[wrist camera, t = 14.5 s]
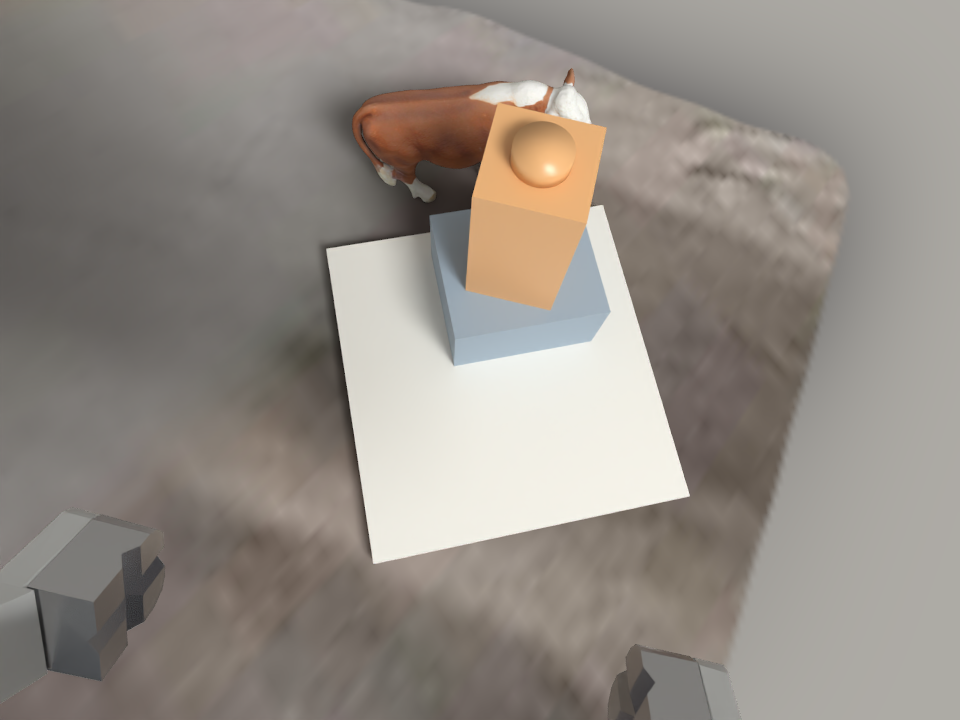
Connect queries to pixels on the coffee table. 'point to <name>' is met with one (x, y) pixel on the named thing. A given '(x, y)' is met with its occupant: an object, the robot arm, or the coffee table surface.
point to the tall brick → (530, 204)
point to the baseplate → (491, 411)
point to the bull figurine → (449, 124)
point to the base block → (505, 324)
